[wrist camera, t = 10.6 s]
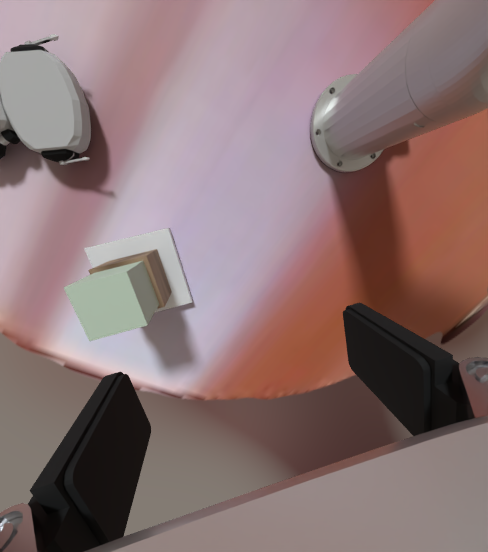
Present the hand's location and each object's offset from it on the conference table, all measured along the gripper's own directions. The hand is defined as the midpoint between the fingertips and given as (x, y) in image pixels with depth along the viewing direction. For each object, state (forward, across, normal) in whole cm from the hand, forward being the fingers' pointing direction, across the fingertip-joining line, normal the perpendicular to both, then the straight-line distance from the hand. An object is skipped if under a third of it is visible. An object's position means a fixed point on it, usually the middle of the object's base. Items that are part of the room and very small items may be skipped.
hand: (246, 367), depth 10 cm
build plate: (+28, +12, 0) cm, 31 cm away
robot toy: (+29, +18, -23) cm, 41 cm away
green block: (+21, +12, 0) cm, 24 cm away
